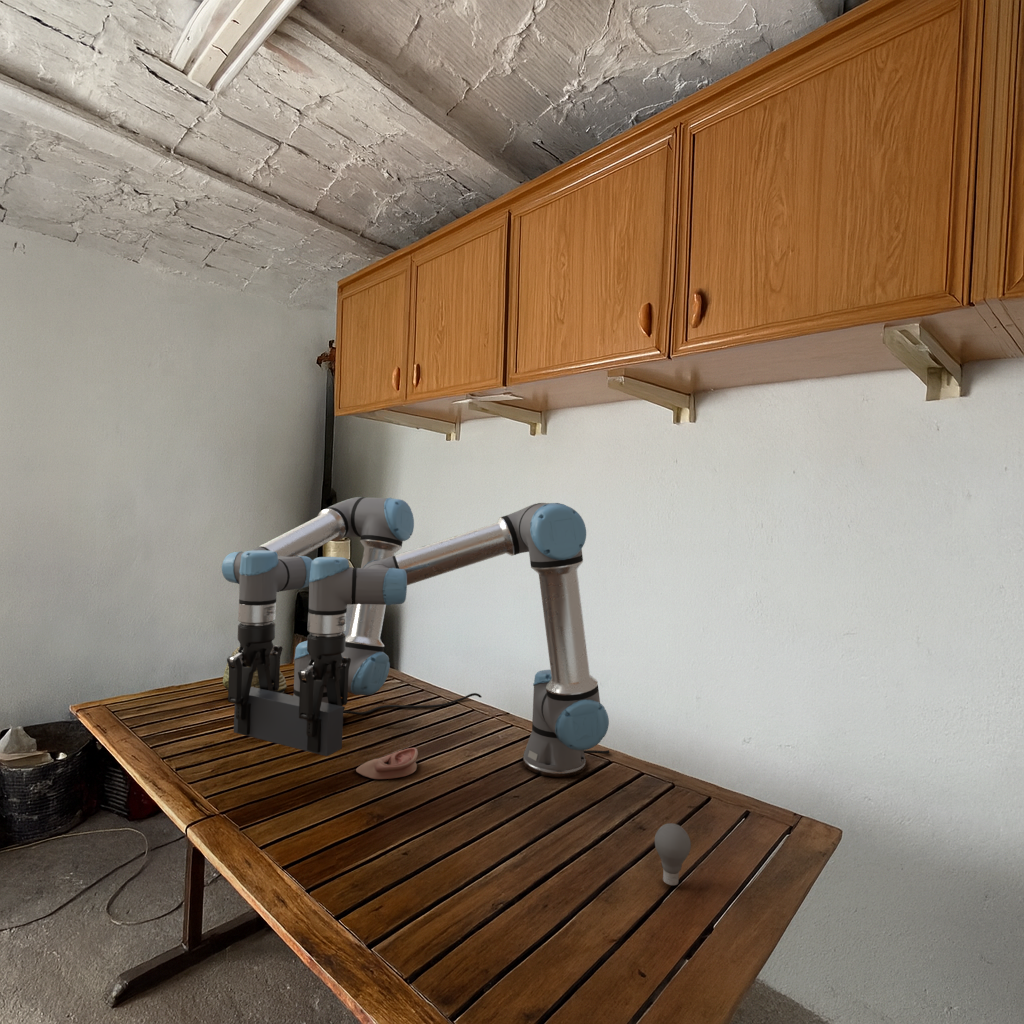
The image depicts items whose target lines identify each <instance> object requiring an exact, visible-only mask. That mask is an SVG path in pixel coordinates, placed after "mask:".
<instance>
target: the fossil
mask: <svg viewBox="0 0 1024 1024" xmlns="http://www.w3.org/2000/svg"><path fill="white" fill-rule="evenodd" d="M239 647H240V646H238V647H237V648H236V649H235V650H233V651H232V653H231V655H230V656H232V657H233V656H235V655H236V654H237V653H238V650H239ZM241 661H242V660H241ZM247 667H250V666H247ZM222 676H223V677H222V685H223V687H224V688H225V690H226V691H228V686H229V666H228V662H227V661H226V666H225V668H224V671H223V675H222ZM273 684H274V683H273ZM251 687H255V688H260V685H259V679H258V672H257V668H256V671H255V672H254V674H253V679H252V683H251ZM287 687H288V686H287V680H286V678H285V676H284V674H283V673H282V672H281V671H280V676H279V689H278V690H277V691H274V692H278V693H283V694H284V693H285V691H286V689H287Z"/></svg>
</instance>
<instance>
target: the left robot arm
mask: <svg viewBox="0 0 1024 1024" xmlns="http://www.w3.org/2000/svg"><path fill="white" fill-rule="evenodd" d="M413 513H414V512H413V511H412V508H411V507H410V505H409V504H408V503H407V502H406V501H405V500H403V499H400V498H393V497H370V496H369V497H368V496H355V497H351V498H347V499H345V500H342V501H339V502H337V503H334V504H333V505H330V506H328V507H326V508H324V509H322V510H320V511H319V512H318V514H317V515H316V517H314V518H312V519H310V520H308V521H306V522H304V523H302V524H300V525H298V526H296V527H294V528H292V529H290V530H289V531H286V532H285V533H282V534H280V535H279V536H277V537H274V538H273V539H270V540H269V541H268V540H267V542H265V543H263V544H260V545H259V546H257V547H254V548H253V549H250V550H245V551H233V552H230V553H228V554H227V555H226V556H225V557H224V559H223V561H222V564H221V573H222V576H223V578H224V579H225V580H226V581H227V582H230V583H232V584H233V583H234V584H238V585H239V587H238V588H239V590H238V593H239V594H238V615H237V617H238V618H237V621H238V622H239V624H238V625H237V641H238V643H239V646H238V647H239V650H238V653H237V654H236V655H235V656H233V657H232V656H231V655H228V657H227V658H226V663H227V662H228V666H229V686H228V690H227V702H228V703H230V704H231V703H232V704H234V705H235V704H236V718H237V719H238V731H237V733H236V734H238V733H241V734H240V735H242V734H245V735H244V736H246V735H248V734H250V709H251V704H250V703H247V702H248V698H249V693H250V688H251V683H252V679H253V674H254V672H255V671H256V668H257V672H258V679H259V685H260V689H264V690H269V691H277V690H278V689H279V676H280V672H281V655H282V652H283V646H281V645H275V644H274V643H273V641H274V640H275V638H276V623H275V622H274V621H276V617H277V616H276V615H277V613H276V612H277V611H276V610H277V595H278V593H279V592H286V591H287V592H288V591H294V590H301V589H304V588H307V587H308V588H309V580H310V570H311V562H312V561H313V560H314V559H312V558H311V557H309V556H306V555H308V554H310V553H311V552H313V551H315V550H317V549H318V548H320V547H322V546H324V545H325V544H328V543H329V542H338V541H340V540H342V539H344V538H354V537H355V538H360V540H359V542H360V544H361V546H362V547H363V553H362V559H361V565H360V568H363V567H364V566H365V565H366V564H367V563H368V562H371V561H373V560H382V559H385V558H388V557H392V556H395V555H396V553H397V552H399V551H400V550H402V547H403V543H404V542H406V541H408V540H410V538H411V536H412V535H413V533H414V529H415V519H414V514H413ZM386 606H387V605H381V604H353V608H352V614H351V618H350V622H349V623H350V624H349V629H348V633H347V635H346V642H345V651H344V652H343V653H341V654H342V657H346V658H350V659H351V662H350V666H349V675H348V694H349V693H350V694H353V695H356V696H360V695H361V696H372V695H374V694H376V693H377V692H379V691H380V690H381V688H382V687H383V686H384V684H385V683H386V681H387V678H388V675H389V673H390V669H391V668H390V667H391V662H390V658H389V655H387V654H386V653H385V652H384V650H385V644H384V643H383V642H382V639H381V636H382V630H383V624H384V619H385V612H386ZM294 653H295V654H294V657H293V659H294V661H293V662H294V663H293V665H294V667H293V696H297V697H299V695H300V680H299V676H298V671H299V670H300V669H301V670H305V669H306V668H307V667H308V665H309V661H310V657H311V656H310V654H309V653H308V652H307V640H304V641H302V642H299V643H298V644H297V645H296V647H295V652H294ZM241 660H242V661H241ZM247 666H250V667H247ZM316 680H317V679H316ZM319 681H322V680H319ZM273 683H274V684H273ZM474 696H475V697H478V698H483V696H482V695H481V694H479V693H476V692H473V693H469V694H467V695H465V696H463V697H459V698H456V699H453V700H451V701H448V702H445V703H439V704H427V705H424V704H423V705H422V704H421V705H405V704H404V705H401V704H399V705H398V704H385V705H380V706H376V707H374V708H371V709H369V710H366V711H354V710H344V711H343V714H349V715H356V716H363V715H368V714H371V713H373V712H375V711H378V710H380V709H382V710H383V709H389V708H390V709H391V708H395V709H396V708H397V709H432V708H440V707H441V708H442V707H446V706H450V705H453V704H456V703H457V702H458V703H459V702H462V701H464V700H467V699H468V698H471V697H474ZM241 697H242V698H241ZM322 702H325V703H328V696H327V689H326V686H324V691H323V697H322Z"/></svg>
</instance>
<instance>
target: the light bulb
mask: <svg viewBox="0 0 1024 1024" xmlns="http://www.w3.org/2000/svg"><path fill="white" fill-rule="evenodd" d="M654 847H655V850H656V852H657V854H658V856H659V858H660V860H661V867H662V869H663V870H662V871H663V873H662V881H663V882H664V883H665V884H667V885H669V886H677V885H678V884H679V880H680V879H679V876H680V871H681V870H682V866H683V863H684V862H685V860H687V857H688V856H689V855H690V852H691V849H692V842H691V838H690V836H689V834H688V832H687V831H686V830H685V829H684V828H683V827H682V826H681V825H679V824H678V823H671V822H669V823H665V824H663V825H662V826H660V827H659V828H658V829H657V831H656V832H655V835H654Z"/></svg>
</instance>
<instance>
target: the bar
mask: <svg viewBox="0 0 1024 1024" xmlns="http://www.w3.org/2000/svg"><path fill="white" fill-rule="evenodd" d="M241 698H242V697H241ZM247 703H250V704H251V709H250V734H248V735H245V734H241V733H237V731H238V719H237V718H236V704H235V703H234V710H233V711H234V713H233V733H235V734H239V735H242V736H245V737H250V738H254V739H258V740H261V741H266V742H270V743H273V744H276V745H280V746H285V747H288V748H289V747H290V748H294V749H296V750H301V751H305V752H309V753H312V754H315V755H316V754H317V755H320V756H325V757H328V756H330V755H332V754H334V753H336V752H338V751H340V750H342V749H343V728H344V727H343V726H344V713H343V707H344V705H343V706H339V705H334V704H330V703H325V702H321V707H320V713H319V718H318V719H321V744H320V752H318V753H316V752H312V751H308V750H307V739H308V736H307V734H306V731H307V720H305V719H301V718H299V697H297V696H294V695H291V694H287V693H284V692H283V693H278V692H274V691H269V690H264V689H260V688H255V687H251V688H250V693H249V698H248V702H247Z"/></svg>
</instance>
